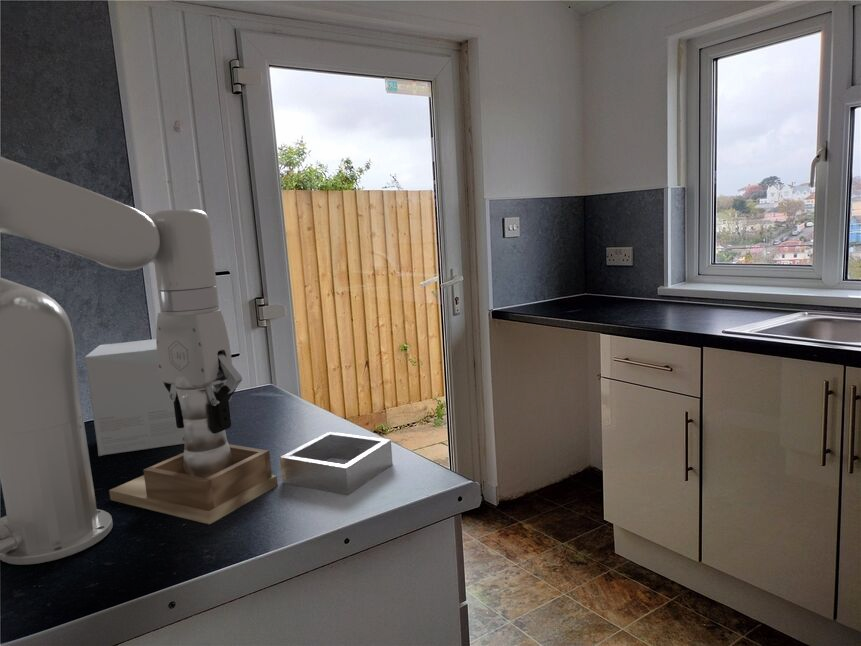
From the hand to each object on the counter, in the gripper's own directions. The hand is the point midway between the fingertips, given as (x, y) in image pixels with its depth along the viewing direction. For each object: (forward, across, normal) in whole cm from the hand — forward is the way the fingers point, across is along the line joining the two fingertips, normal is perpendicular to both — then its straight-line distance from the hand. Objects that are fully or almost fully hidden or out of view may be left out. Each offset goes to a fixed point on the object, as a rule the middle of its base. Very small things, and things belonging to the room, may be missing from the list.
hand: (203, 426), depth 88 cm
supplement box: (+11, -31, +15) cm, 36 cm away
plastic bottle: (+8, 0, 0) cm, 8 cm away
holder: (+10, +12, +14) cm, 21 cm away
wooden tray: (+10, -4, 0) cm, 11 cm away
